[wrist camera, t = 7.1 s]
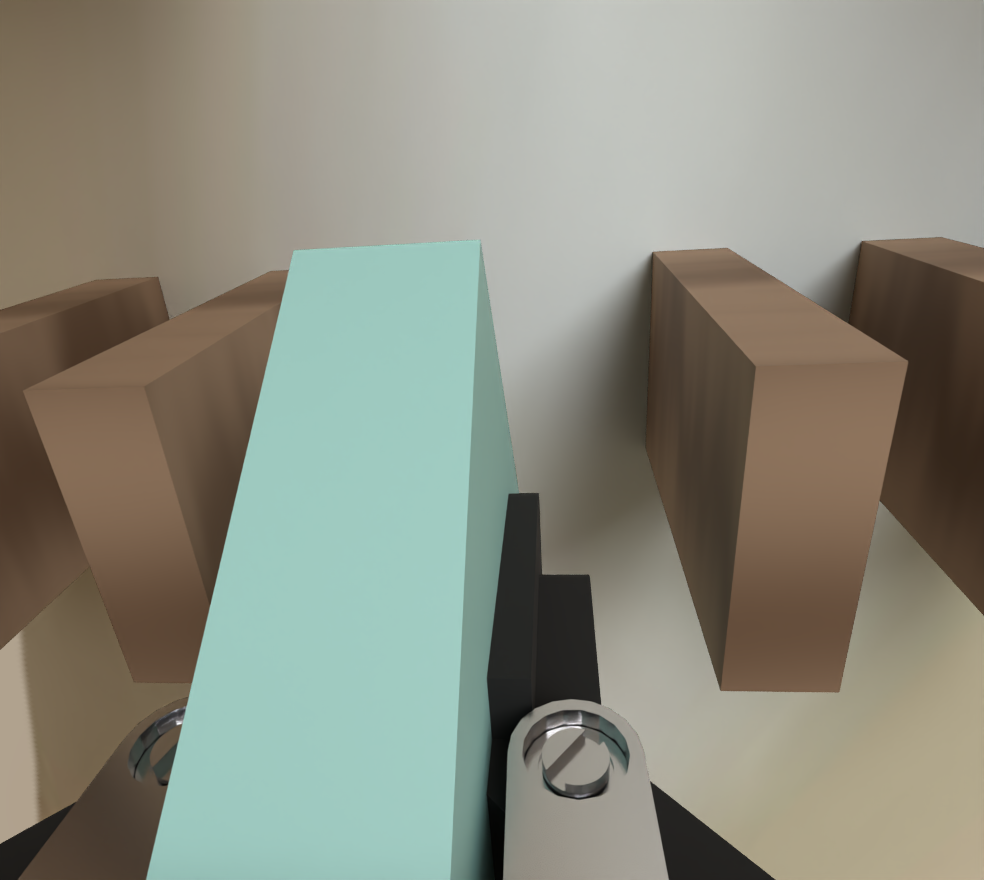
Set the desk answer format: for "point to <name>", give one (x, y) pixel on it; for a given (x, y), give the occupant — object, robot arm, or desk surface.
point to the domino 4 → (933, 393)
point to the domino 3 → (766, 463)
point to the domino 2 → (161, 465)
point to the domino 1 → (18, 446)
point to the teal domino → (355, 589)
